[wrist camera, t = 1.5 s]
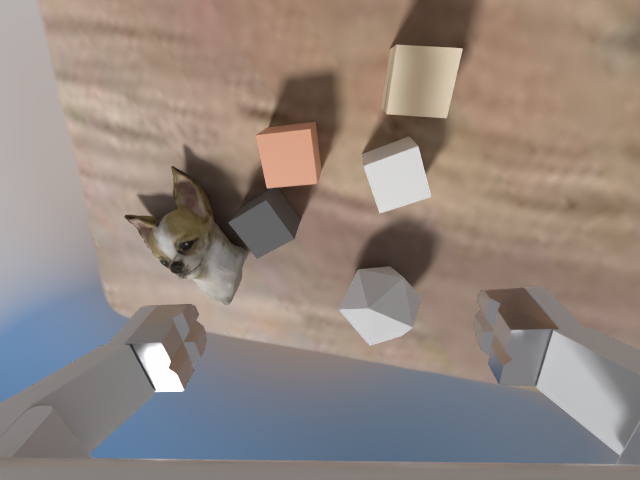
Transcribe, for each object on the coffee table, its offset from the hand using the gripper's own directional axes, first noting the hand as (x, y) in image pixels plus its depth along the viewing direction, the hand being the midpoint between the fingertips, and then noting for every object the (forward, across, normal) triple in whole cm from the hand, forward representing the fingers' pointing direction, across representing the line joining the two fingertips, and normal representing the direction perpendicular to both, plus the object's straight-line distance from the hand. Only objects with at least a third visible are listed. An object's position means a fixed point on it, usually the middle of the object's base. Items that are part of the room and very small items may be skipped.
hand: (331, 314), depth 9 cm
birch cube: (+26, -7, -5) cm, 28 cm away
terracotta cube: (+27, +5, 0) cm, 27 cm away
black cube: (+27, +9, +7) cm, 29 cm away
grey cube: (+26, -5, +3) cm, 27 cm away
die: (+27, -3, +18) cm, 32 cm away
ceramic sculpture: (+27, +18, +9) cm, 34 cm away
